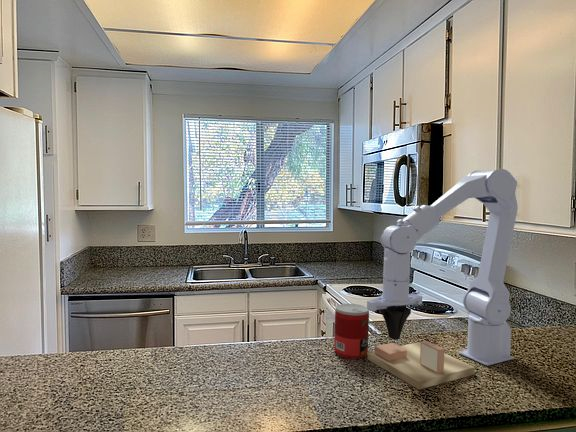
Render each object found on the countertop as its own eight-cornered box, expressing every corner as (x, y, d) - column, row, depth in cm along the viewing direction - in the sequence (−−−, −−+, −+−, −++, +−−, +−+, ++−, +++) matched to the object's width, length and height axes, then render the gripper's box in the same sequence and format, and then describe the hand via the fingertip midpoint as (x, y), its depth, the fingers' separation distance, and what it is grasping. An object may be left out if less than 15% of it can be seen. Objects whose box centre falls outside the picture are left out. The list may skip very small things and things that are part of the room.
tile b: (425, 363, 89) (426, 340, 89) (443, 372, 85) (444, 348, 84) (419, 364, 88) (420, 341, 88) (437, 373, 84) (438, 349, 84)
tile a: (391, 342, 96) (374, 346, 94) (406, 350, 92) (389, 354, 90) (391, 349, 96) (374, 353, 94) (406, 357, 92) (389, 361, 90)
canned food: (367, 361, 94) (369, 313, 93) (332, 357, 95) (333, 311, 95) (368, 348, 101) (369, 304, 100) (335, 345, 103) (336, 302, 102)
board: (419, 348, 102) (419, 342, 102) (474, 374, 88) (474, 367, 88) (367, 359, 95) (367, 352, 95) (418, 389, 80) (418, 381, 80)
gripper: (407, 273, 99) (405, 328, 100) (359, 278, 93) (357, 337, 94) (430, 279, 93) (427, 338, 94) (379, 284, 86) (377, 347, 87)
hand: (394, 338), depth 93 cm, fingers closed
